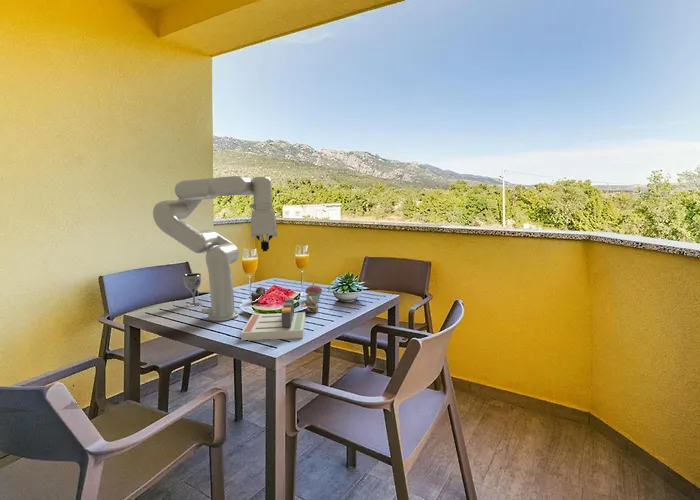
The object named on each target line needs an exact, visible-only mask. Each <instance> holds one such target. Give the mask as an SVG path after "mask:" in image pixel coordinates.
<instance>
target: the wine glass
mask: <svg viewBox="0 0 700 500" xmlns="http://www.w3.org/2000/svg"><path fill="white" fill-rule="evenodd" d="M182 277H183V283H184V286H185V288H187V290H189V291H190V292H191V294H192V295H191V296H192V302H191V303H189V304H190V305H199V304H201V303H202V302H196V291H197V290H198V289H199V288H200V287H201V283H202V274H201V273H197V272H196V273H194V272H193V273H192V272H191V273H186V274H183V275H182ZM201 305H202V304H201ZM199 306H200V305H199Z"/></svg>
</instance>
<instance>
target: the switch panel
mask: <svg viewBox="0 0 700 500" xmlns="http://www.w3.org/2000/svg"><path fill="white" fill-rule="evenodd" d="M289 307H291V318H292V325H291V327H282V312H280V313H260V314H258V313H256V314H251V316H250V318H248V321H247V323H246V324H245V326H244V327H243V328H242V331H241V332H240V337H241V338H240V339H241V341H242V340H248V341H264V340H263V339H265V341H267V340H266V339H270V340H283V339H284V340H287V339H288V340H290V339H304V334H305V327H306V326H305V325H306V312H295V301H294V297H286V298H285V299H284V303H283V307H282V308H289ZM242 342H243V341H242Z"/></svg>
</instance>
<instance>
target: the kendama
mask: <svg viewBox="0 0 700 500" xmlns="http://www.w3.org/2000/svg"><path fill="white" fill-rule="evenodd" d="M265 292H267V291H266V289H265V288H264V287H262V286H260V287H257V288H256V289H255V292H254V291H252V292H251V294H250V295H251V298H250V299H251V302H252V301H255V300H256V299H258V298H259V297H260V296H261V295H263V294H264V293H265Z"/></svg>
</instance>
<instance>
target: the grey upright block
mask: <svg viewBox="0 0 700 500" xmlns="http://www.w3.org/2000/svg"><path fill="white" fill-rule="evenodd" d="M280 311H281V312H280V313H282V327H291V325H292V318H291V307H289V308H283V307H282V308H281V310H280Z"/></svg>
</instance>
